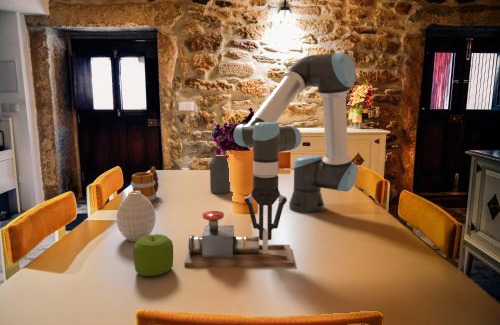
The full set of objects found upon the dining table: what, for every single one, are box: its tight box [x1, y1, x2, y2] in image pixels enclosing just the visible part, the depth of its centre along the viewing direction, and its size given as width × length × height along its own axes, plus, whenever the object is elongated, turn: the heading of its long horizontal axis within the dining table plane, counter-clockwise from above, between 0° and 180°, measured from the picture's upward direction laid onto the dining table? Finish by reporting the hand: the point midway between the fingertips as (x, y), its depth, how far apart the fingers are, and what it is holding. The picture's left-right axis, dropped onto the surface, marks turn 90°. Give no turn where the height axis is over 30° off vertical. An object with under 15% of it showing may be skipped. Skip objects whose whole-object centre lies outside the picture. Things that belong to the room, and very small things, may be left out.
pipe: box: [233, 236, 260, 253], centre depth 113 cm, size 10×5×5 cm, turn 90°
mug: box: [130, 166, 159, 203], centre depth 173 cm, size 11×16×15 cm, turn 158°
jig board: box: [184, 244, 295, 268], centre depth 113 cm, size 32×13×2 cm, turn 90°
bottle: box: [209, 152, 231, 195], centre depth 185 cm, size 10×10×30 cm
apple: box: [132, 233, 174, 277], centre depth 103 cm, size 11×11×11 cm
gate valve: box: [188, 210, 235, 260], centre depth 112 cm, size 13×9×13 cm, turn 90°
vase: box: [116, 190, 157, 243], centre depth 126 cm, size 13×13×17 cm
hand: (265, 249), depth 113 cm, fingers closed
